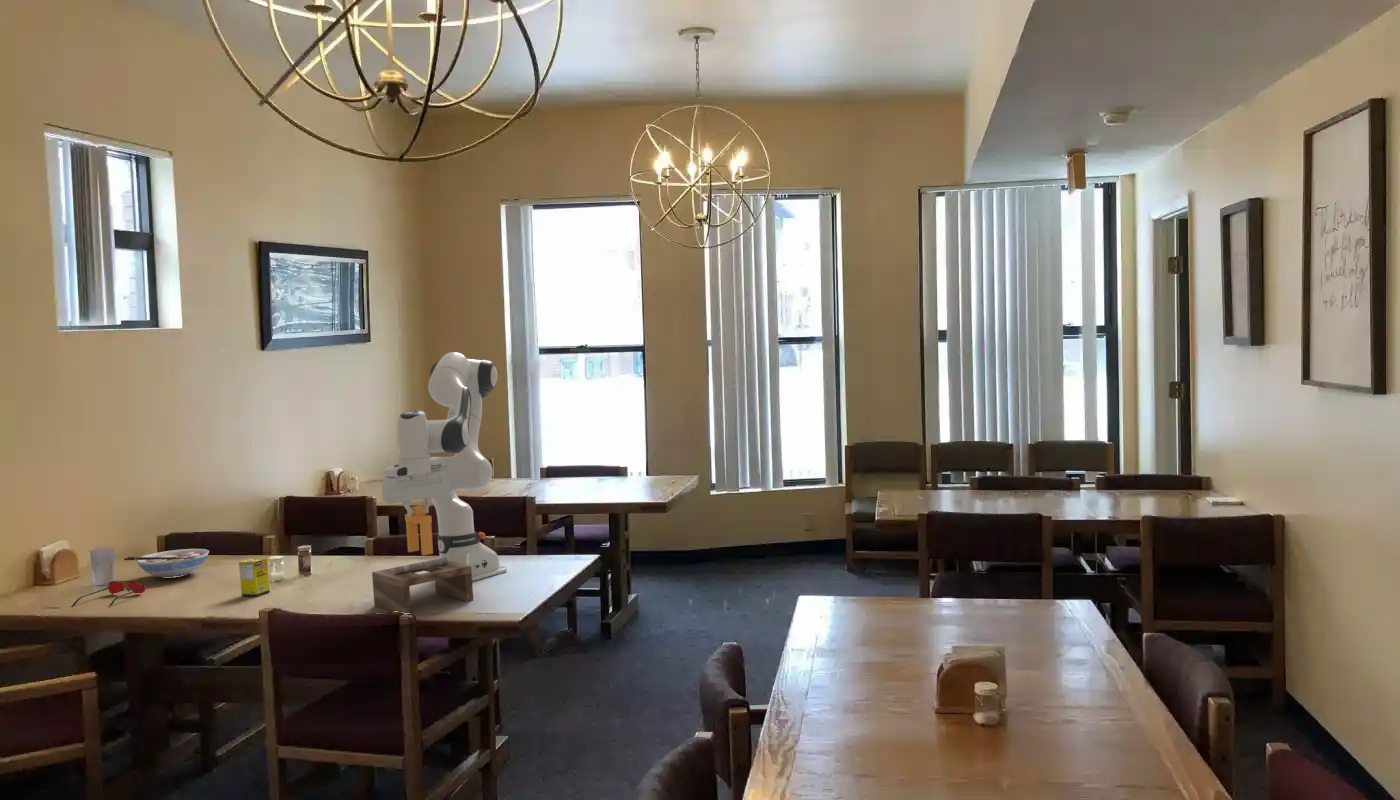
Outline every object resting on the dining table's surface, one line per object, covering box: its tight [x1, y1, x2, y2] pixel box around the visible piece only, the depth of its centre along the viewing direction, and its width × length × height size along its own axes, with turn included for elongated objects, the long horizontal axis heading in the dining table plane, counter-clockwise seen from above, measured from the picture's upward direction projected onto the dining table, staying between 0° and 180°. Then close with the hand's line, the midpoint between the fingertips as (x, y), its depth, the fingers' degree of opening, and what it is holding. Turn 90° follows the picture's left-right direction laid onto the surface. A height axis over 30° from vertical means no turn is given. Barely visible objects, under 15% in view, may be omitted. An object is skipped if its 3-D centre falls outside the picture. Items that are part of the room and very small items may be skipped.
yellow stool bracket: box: [404, 505, 434, 556], centre depth 319 cm, size 3×10×13 cm, turn 43°
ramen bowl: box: [123, 548, 210, 578], centre depth 376 cm, size 25×23×8 cm
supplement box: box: [238, 557, 271, 597], centre depth 342 cm, size 6×6×11 cm
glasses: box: [70, 580, 147, 608], centre depth 344 cm, size 14×16×5 cm
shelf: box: [371, 557, 474, 614], centre depth 320 cm, size 22×18×12 cm
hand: (418, 514), depth 319 cm, fingers closed on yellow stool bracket, 3 cm apart
